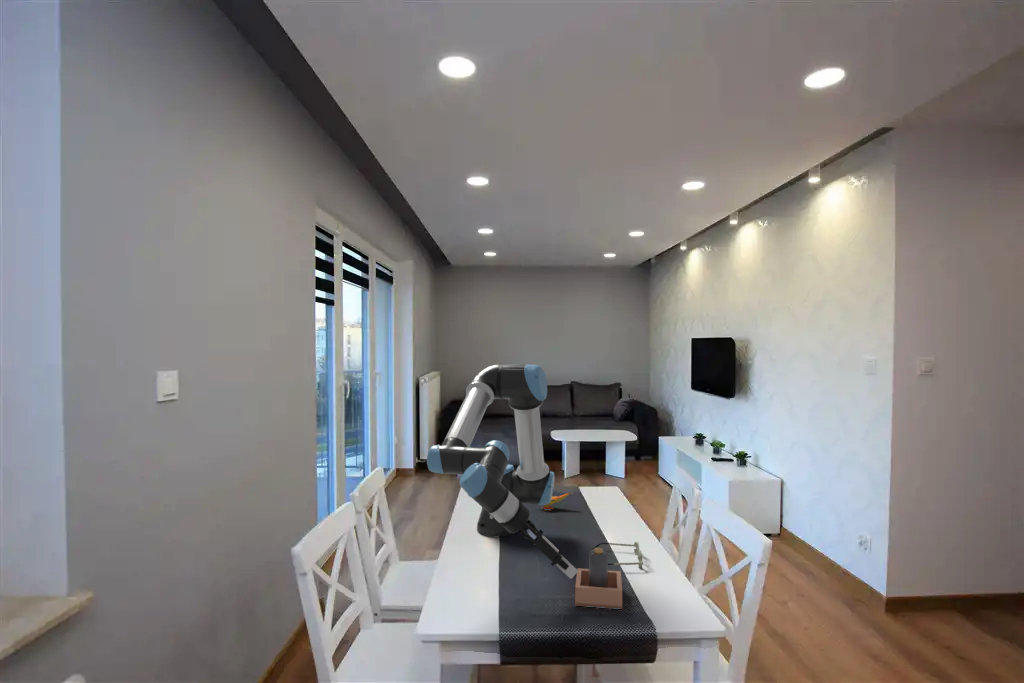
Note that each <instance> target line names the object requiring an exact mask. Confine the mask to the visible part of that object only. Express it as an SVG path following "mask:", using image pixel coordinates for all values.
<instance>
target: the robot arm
mask: <svg viewBox="0 0 1024 683" xmlns="http://www.w3.org/2000/svg"><path fill="white" fill-rule="evenodd" d="M547 380H548V379H547V376H546V372H545V370H544V369H543V367H542V366H541V365H539V364H530V363H526V364H524V363H523V364H517V363H516V364H512V363H511V364H509V363H508V364H503V363H497V364H493V365H489V366H487V367H485V368H483V369H482V370H480V371H479V372H478V373H477V374H476V375H474V376H473V378H472V379H471V380H469V383H468V384H467V386H466V389H465V398H464V399H463V401H462V403H461V405H460V407H459V410H458V412H457V413H456V415H455V418H454V420H453V421H452V424H451V425H450V428H449V430H448V432H447V434H446V436H445V438H444V440H443V442H442V443H441V445H440V444H434V445H432V446H430V448H429V449H428V451H427V455H426V465H427V468H428V470H429V471H430V472H431V473H436V474H442V475H461V476H460V478H459V486H460V488H462V490H464V491H465V493H466V494H467V496H468V497H470V498H471V499H473V500H474V501H475V503H477V504H478V505H479V506H480V507H481V510H480V513H479V517H478V520H477V524H476V531H477V533H478V534H480V533H481V535H483V536H486V535H487V537H493V536H501V537H508V536H511V535H514V534H516V533H518V532H519V533H520V534H521V535H522V537H523V538H525V539H527V540H528V541H529V542H530V543H531V544H532V545H534V546H535V547H537V549H539V550H540V552H542V553H543V554H544V556H546V557H547V558H548V559H549V561H551V563H550V565H551V566H552V567H553V566H556V567H557V569H559V570H561V571H562V573H563V574H564V575H565V576H567V577H568V578H569V579H571V580H572V579H573V578H574V577H575V575H577V572H578V570H577V568H576V567H575V566H574V565H573V564H572V563H570V561H569V560H567V559H566V558H565V557H564V556H563V555H562V554H561V553H559V552H560V550H559V549H558V548H557V547H556V546H555V545H554V544H553V543H552V542H551V541H550V540H549V539H548V538H547V537H546V536H545V535H544V534H543V533H544V531H543V530H542V529H539V530H538V528H537V526H536V525H535V524H534V523H533V522H532V520H530V514H531V513H530V510H529V509H528V508H527V507H526V506H525V505H524V504H526V505H534V506H535V505H537V506H543V505H544V506H545V505H547V504H549V503H550V501H551V498H552V496H553V493H554V488H555V479H556V478H555V476H556V474H555V472H554V471H550V467H549V465H548V464H547V463H546V462H545V458H544V447H543V437H542V436H543V435H542V425H541V424H542V422H541V414H540V413H541V412H540V408H541V406H542V405H543V404H544V400H546V399H547V397H548V381H547ZM494 400H507V402H508V406H509V407H510V408H511V409H512V410H513V412H514V413H513V414H514V421H515V429H516V430H515V432H516V439H517V440H516V441H517V450H518V451H517V452H518V459H519V465H518V466H517V468H516V469H515V467H514V465H513V464H510V463H509V461H510V455H511V452H510V448H509V447H508V446H507V444H506V443H504V442H503V441H500V440H497V439H496V440H495V439H494V440H490V441H489V442H486V444H485V445H484V447H478V446H477V447H473V446H471V444H472V443H473V440H474V437H475V435H476V433H477V431H478V428H479V426H480V424H481V422H482V419H483V417H484V414H485V413H486V411H487V408H488V406H490V405H491V404H492V403H493V402H494Z"/></svg>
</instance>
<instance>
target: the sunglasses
mask: <svg viewBox="0 0 1024 683" xmlns="http://www.w3.org/2000/svg"><path fill="white" fill-rule="evenodd" d="M601 545H610V546H620V547H621V546H622V547H624V546H625V547H634V549H633V553H634V555H635V556H637V560H638V561H636V562H613V563H608V566H632V565H633V566H634V565H635V566H636V565H638V568H641V569H642V568H643V565H644V562H643V552H642V550H641V549H640V544H639V541H634V543H633V544H632V543H629V544H628V543H615V542H613V543H612V542H600V543H597V545H596V546H594V547H592V548H591V549H594V548H599V546H601Z"/></svg>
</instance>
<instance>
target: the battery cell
mask: <svg viewBox="0 0 1024 683" xmlns="http://www.w3.org/2000/svg"><path fill="white" fill-rule="evenodd" d="M593 548H594V547H593ZM608 555H609V552H608V551H606V550H604V549H603V548H602V547H597V548H594V550H591V549H590V550H589V551H588V569H589V586H591V587H604V588H608V570H609V567H608V566H609V565H608V564H609V560H608V559H609V556H608Z"/></svg>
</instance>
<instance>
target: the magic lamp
mask: <svg viewBox="0 0 1024 683" xmlns="http://www.w3.org/2000/svg"><path fill="white" fill-rule="evenodd" d="M573 494H574V492H566V493H563V494H562V495H559V496H555V495H554V496H553V495H552V498H551V501H550V503H549V504H547V505H544V506H542V507H543V508H544V509H553V510H554V507H552V506H551V505H554V504H557V503H559V502H561V501H562V500H564V499H565V498H566V497H568V496H569V495H573Z"/></svg>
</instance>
